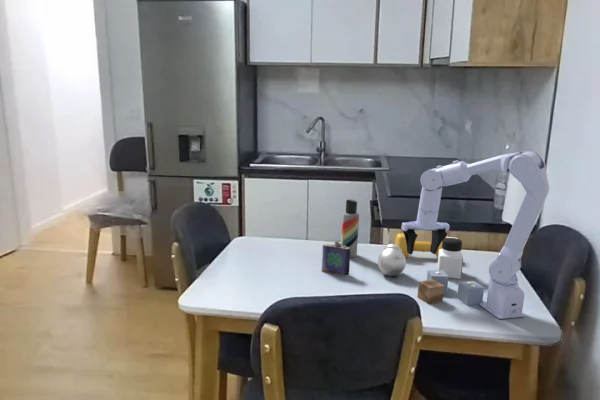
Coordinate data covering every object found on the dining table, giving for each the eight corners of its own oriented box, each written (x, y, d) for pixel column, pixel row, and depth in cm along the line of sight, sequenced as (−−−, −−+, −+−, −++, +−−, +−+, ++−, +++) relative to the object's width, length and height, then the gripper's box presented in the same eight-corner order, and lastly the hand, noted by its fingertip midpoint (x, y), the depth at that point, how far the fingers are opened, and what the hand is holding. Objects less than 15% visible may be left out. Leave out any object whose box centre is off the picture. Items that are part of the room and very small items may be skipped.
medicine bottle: (461, 279, 170) (465, 243, 167) (437, 277, 171) (441, 241, 169) (459, 271, 177) (463, 236, 174) (436, 269, 178) (440, 234, 175)
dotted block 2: (482, 304, 152) (484, 286, 151) (466, 305, 151) (468, 288, 150) (472, 296, 157) (474, 280, 156) (457, 298, 156) (458, 281, 155)
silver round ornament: (409, 273, 173) (412, 244, 171) (398, 282, 166) (400, 251, 163) (384, 267, 178) (386, 238, 176) (371, 275, 171) (373, 245, 168)
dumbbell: (396, 260, 185) (398, 238, 183) (392, 252, 194) (394, 230, 192) (451, 262, 185) (454, 240, 183) (445, 254, 194) (447, 232, 192)
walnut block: (442, 301, 153) (444, 285, 152) (428, 304, 151) (430, 288, 150) (431, 295, 157) (432, 279, 156) (417, 297, 155) (418, 281, 154)
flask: (320, 271, 173) (322, 239, 170) (323, 268, 175) (325, 237, 173) (347, 276, 169) (349, 244, 167) (350, 273, 172) (352, 241, 169)
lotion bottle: (337, 253, 190) (340, 198, 185) (351, 251, 193) (354, 197, 188) (345, 258, 185) (348, 202, 180) (359, 256, 188) (363, 201, 183)
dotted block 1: (446, 292, 160) (448, 275, 159) (430, 291, 160) (431, 275, 159) (442, 285, 165) (443, 269, 164) (426, 285, 165) (427, 269, 164)
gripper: (443, 205, 161) (436, 247, 165) (399, 204, 158) (393, 248, 161) (456, 212, 155) (448, 256, 159) (410, 212, 151) (403, 257, 155)
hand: (421, 253), depth 160 cm, fingers open, 7 cm apart
